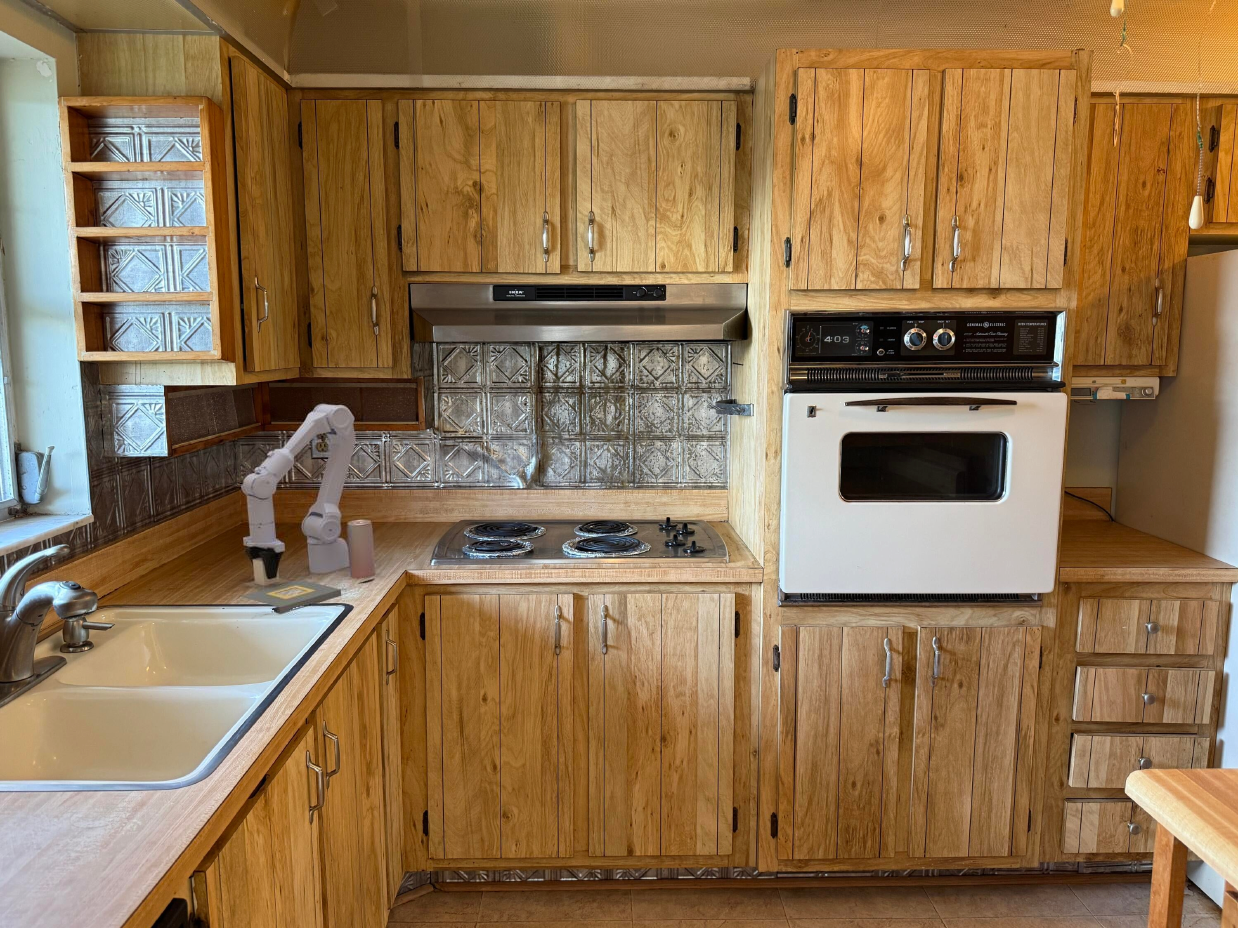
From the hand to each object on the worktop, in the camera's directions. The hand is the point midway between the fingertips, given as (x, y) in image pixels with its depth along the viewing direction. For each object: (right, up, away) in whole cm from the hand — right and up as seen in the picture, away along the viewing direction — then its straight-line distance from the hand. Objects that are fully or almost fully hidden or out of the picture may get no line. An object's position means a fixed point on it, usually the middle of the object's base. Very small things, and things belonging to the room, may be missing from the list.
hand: (266, 576), depth 213 cm
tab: (0, -3, 0) cm, 3 cm away
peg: (0, -1, 0) cm, 1 cm away
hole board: (+9, -4, -9) cm, 13 cm away
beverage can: (+22, -2, +5) cm, 23 cm away
